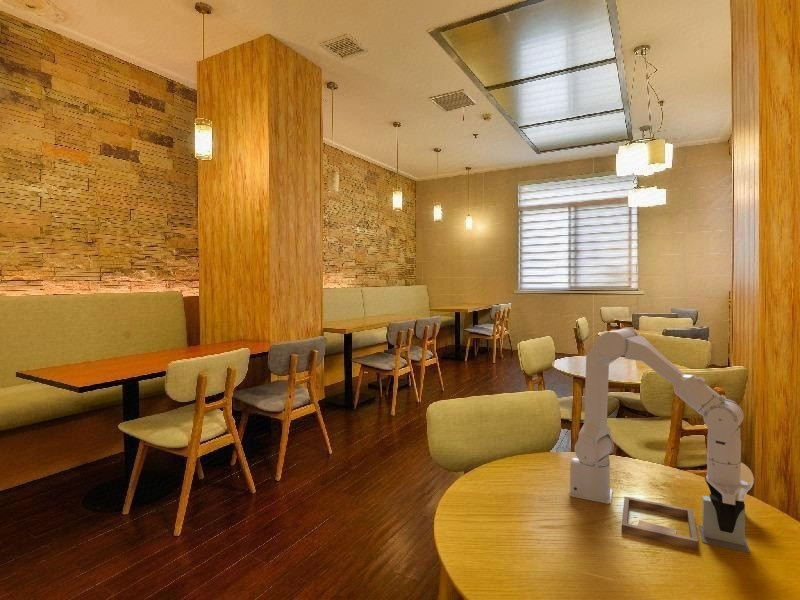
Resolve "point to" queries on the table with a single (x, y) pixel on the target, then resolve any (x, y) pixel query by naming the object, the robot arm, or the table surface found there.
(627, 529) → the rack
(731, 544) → the mat
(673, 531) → the offcut upper
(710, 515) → the light grey slab
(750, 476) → the light bulb
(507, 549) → the table surface
